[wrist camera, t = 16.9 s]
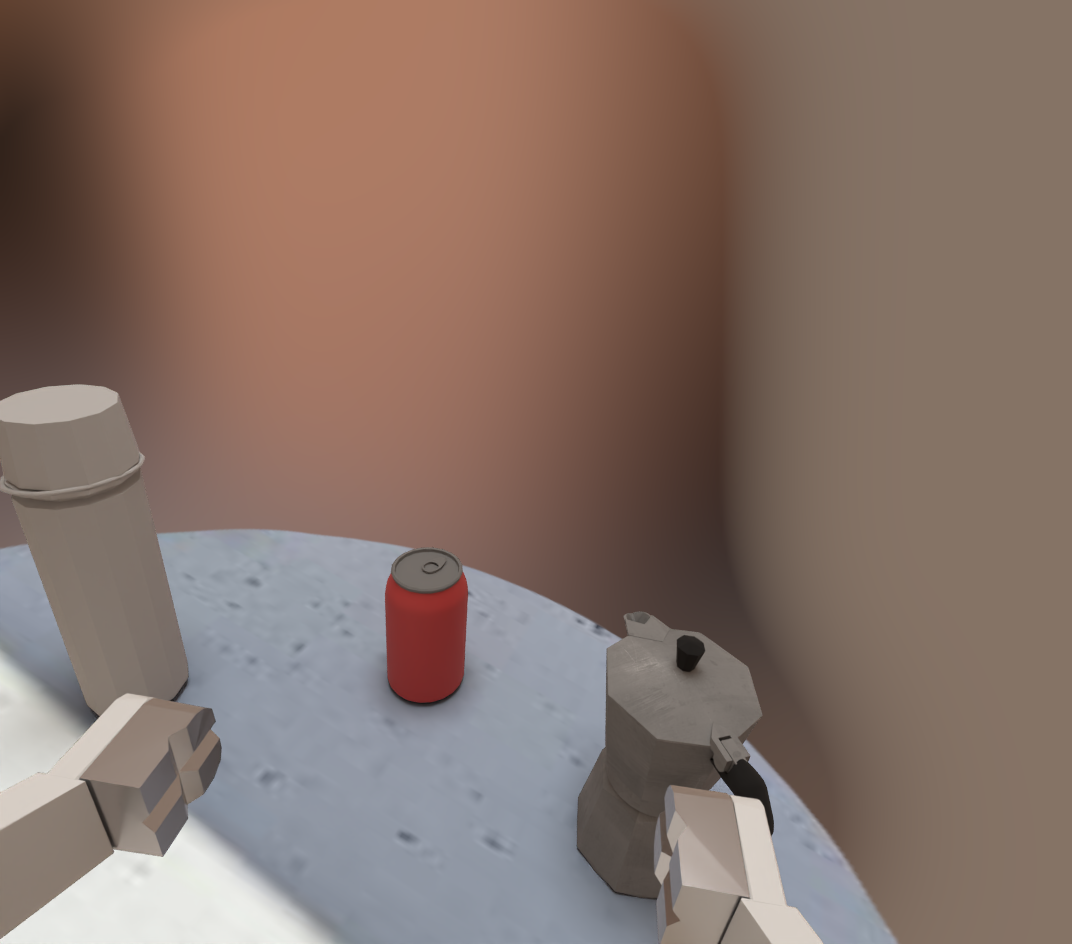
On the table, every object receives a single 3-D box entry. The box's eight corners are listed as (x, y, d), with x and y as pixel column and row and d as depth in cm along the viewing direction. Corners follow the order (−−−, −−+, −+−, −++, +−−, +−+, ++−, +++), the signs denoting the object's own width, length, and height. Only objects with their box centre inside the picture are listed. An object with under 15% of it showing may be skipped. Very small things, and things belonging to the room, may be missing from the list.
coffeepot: (545, 764, 47) (573, 579, 38) (653, 740, 50) (702, 563, 41) (630, 1004, 34) (701, 806, 26) (770, 952, 37) (875, 759, 29)
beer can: (479, 675, 54) (486, 566, 48) (424, 721, 49) (425, 607, 44) (427, 638, 57) (428, 533, 52) (371, 678, 53) (366, 567, 47)
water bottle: (209, 692, 50) (145, 410, 38) (95, 745, 45) (-19, 439, 33) (172, 630, 55) (106, 367, 44) (68, 671, 50) (-39, 387, 39)
